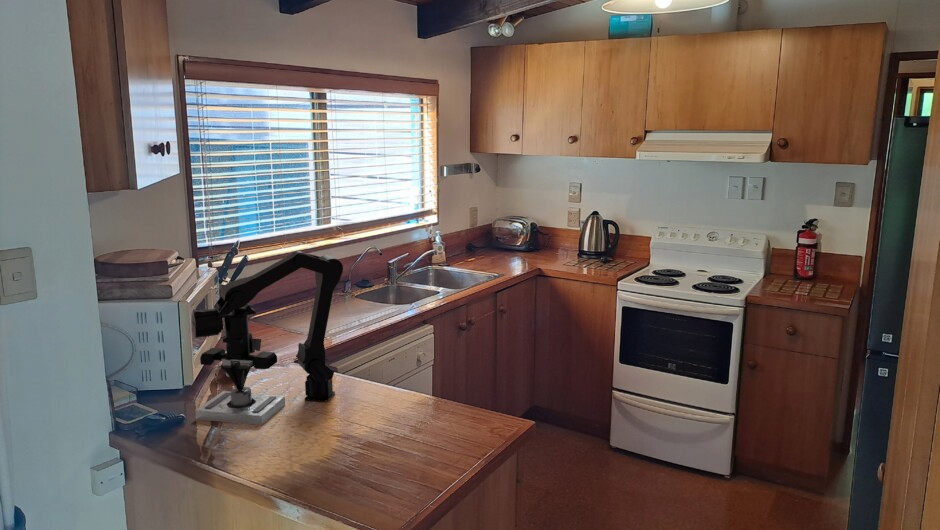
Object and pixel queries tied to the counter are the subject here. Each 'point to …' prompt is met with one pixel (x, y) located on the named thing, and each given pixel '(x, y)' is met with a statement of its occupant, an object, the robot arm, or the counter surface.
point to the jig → (254, 414)
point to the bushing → (241, 398)
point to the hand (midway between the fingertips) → (240, 389)
